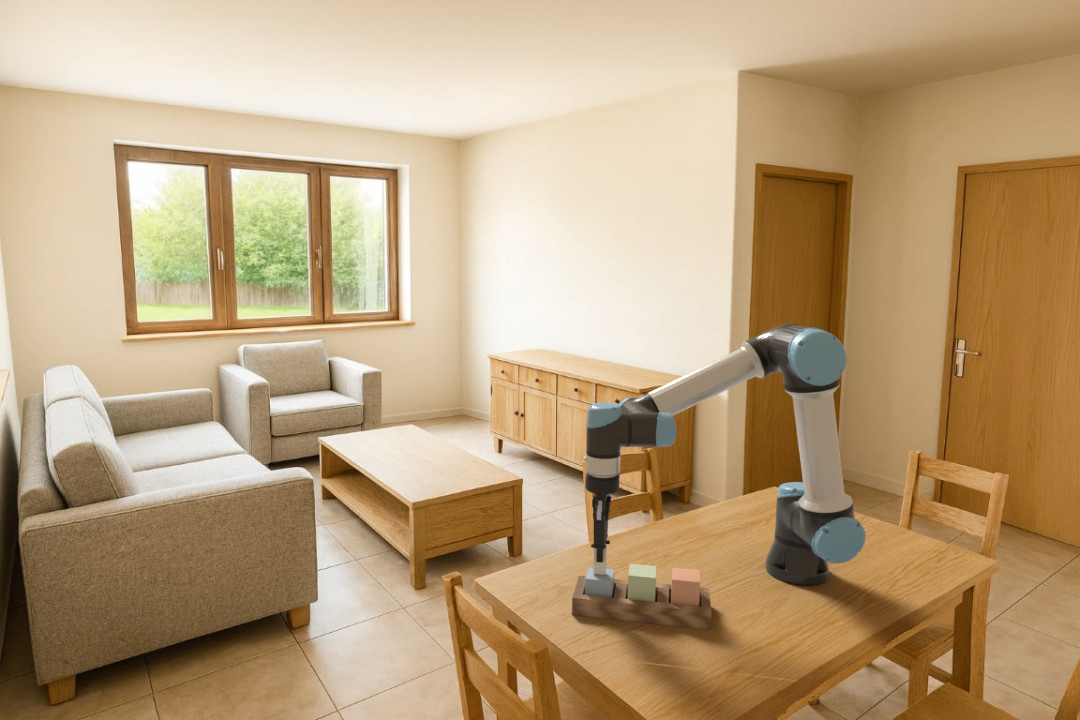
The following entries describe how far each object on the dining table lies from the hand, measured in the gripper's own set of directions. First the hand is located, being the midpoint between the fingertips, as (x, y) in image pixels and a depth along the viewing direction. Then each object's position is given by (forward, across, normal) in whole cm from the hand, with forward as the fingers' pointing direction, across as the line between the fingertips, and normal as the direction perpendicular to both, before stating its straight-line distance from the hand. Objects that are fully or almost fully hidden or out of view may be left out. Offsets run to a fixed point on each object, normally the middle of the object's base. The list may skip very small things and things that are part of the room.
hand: (599, 573), depth 158 cm
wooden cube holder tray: (+8, 0, +10) cm, 12 cm away
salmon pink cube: (+5, 0, +19) cm, 20 cm away
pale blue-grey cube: (+7, 0, 0) cm, 7 cm away
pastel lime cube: (+5, 0, +10) cm, 11 cm away
